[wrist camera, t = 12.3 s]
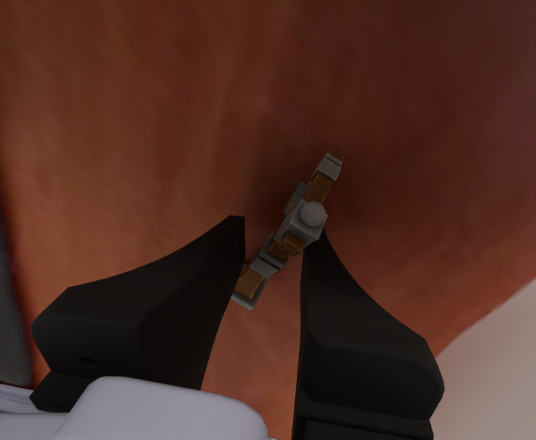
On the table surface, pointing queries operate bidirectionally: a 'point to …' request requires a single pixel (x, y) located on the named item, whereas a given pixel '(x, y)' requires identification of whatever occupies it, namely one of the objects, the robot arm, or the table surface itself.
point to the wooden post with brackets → (290, 231)
